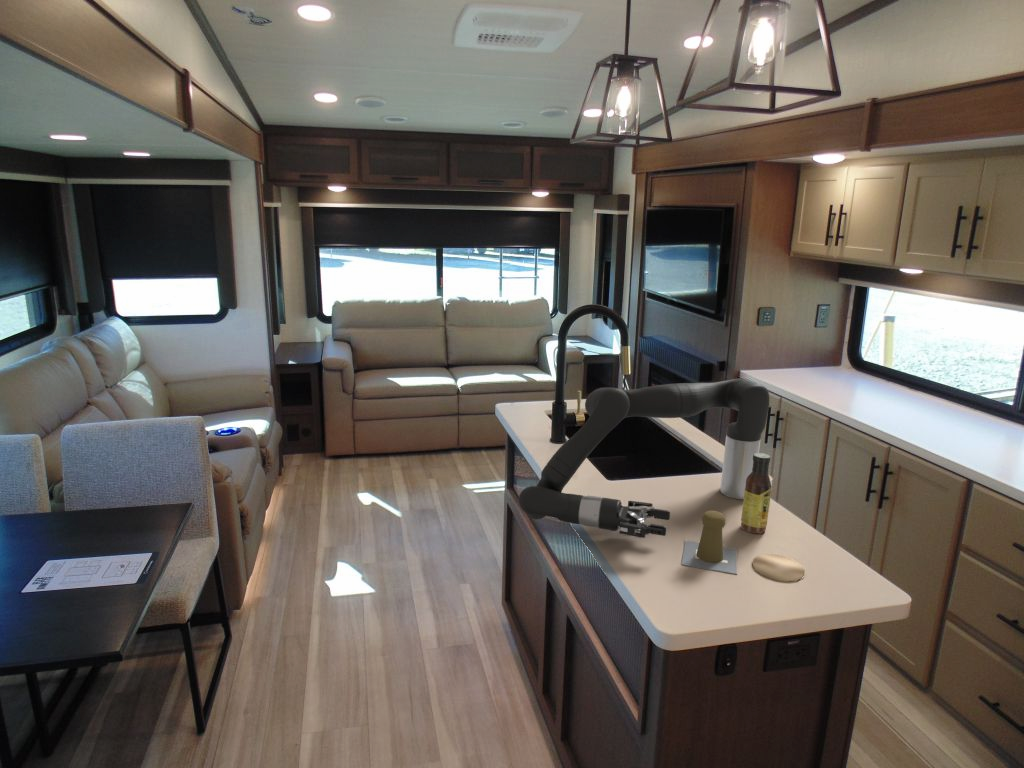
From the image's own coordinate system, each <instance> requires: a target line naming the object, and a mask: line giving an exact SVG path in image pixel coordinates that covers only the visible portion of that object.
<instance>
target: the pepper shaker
mask: <svg viewBox="0 0 1024 768" xmlns="http://www.w3.org/2000/svg"><path fill="white" fill-rule="evenodd" d="M701 522H702V524H703V527H702V531H701V534H700V537H699V538H700V539H699V542H698V543H699V546H698V550H697V557H698V558H699V559H701V560H703V561H705V562H709V563H718V562H721V561H722V560H723V547H724V541H723V538H724V537H723V528H724V527H725V525H726V517H725V515H724V514H723V513H721V512H719V511H716V510H707V511H705V512H704V513H703V514H702V517H701Z"/></svg>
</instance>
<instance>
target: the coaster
mask: <svg viewBox="0 0 1024 768" xmlns="http://www.w3.org/2000/svg"><path fill="white" fill-rule="evenodd" d="M752 559H753V560H752V567H753V569H754V570H755V572H757V573H758V572H759V573H758V574H760V575H761V576H763V577H765V576H766V578H768V579H769V580H770V579H771V580H773V581H779V582H785V581H786V582H787V583H788V582H789V581H793V582H797V581H796V580H798V581H800V580H802V579H803V578H804V577H805V568H804V566H803V565H801V563H799V562H797V560H795V559H792V558H790V557H787V556H784V555H779V554H773V553H769V554H768V553H765V554H759V555H757V556H755V557H754V558H752ZM803 576H804V577H803ZM802 577H803V578H802ZM801 578H802V579H801ZM799 579H800V580H799ZM786 582H785V583H786ZM789 583H790V582H789Z"/></svg>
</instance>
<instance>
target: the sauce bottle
mask: <svg viewBox="0 0 1024 768" xmlns="http://www.w3.org/2000/svg"><path fill="white" fill-rule="evenodd" d="M770 462H771V455H769V454H767V453H764V452H759V453H755V454H754V455H753V468H752V472H751V474H750V475H749V476H748V477H747V480H746V487H745V491H744V499H742V500H743V501H742V512H741V518H740V522H741V523H740V526H741V529H742V530H744V531H745V532H748V533H752V534H762V533H765V532H766V530H767V526H768V518H769V511H770V502H771V495H772V488H773V487H772V483H771V480H770V475H769V466H770Z"/></svg>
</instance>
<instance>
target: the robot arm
mask: <svg viewBox="0 0 1024 768" xmlns="http://www.w3.org/2000/svg"><path fill="white" fill-rule="evenodd" d="M584 407H585V408H584V410H585V411H586V413H587V414H588V416H589V417H588V418H587V420H586V422H585V423H584V424H583V426H581V427H580V428H579V429H578V430H577V432H575V433H574V434H573V435H572V436H571V437H569V438H568V440H567V441H565V442H564V443H563V444H562V445H561V446H560V447H559V448H558V449H557V450H556V451H555V452H554V454H553V455H552V456H551V458H550V459H549V460H548V462H547V463H546V464H545V466H544V467H543V468H542V471H541V474H540V475H541V476H540V480H539V481H538V483H537V484H536V485H531V486H527V487H525V488H524V489H522V491H520V493H519V496H518V505H519V507H520V509H521V510H522V511H523V512H524V513H525V514H526V516H528V517H529V518H531V519H533V520H541V519H543V518H545V517H550V518H555V519H557V520H559V521H561V522H563V523H565V522H566V523H570V524H576V525H582V526H585V527H588V528H593V529H599V530H600V529H601V530H605V531H606V530H607V531H612V532H617V531H618V530H619V531H618V532H619V535H623V536H630V537H636V538H641V539H645V538H646V536H649V534H650V535H656V536H661V537H662V536H663V537H665V536H666V534H667V526H666V525H662V524H655V523H648V522H647V521H646V520H647V519H652V518H653V519H658V520H664V521H665V520H666V521H669V520H670V517H671V511H670V510H666V509H660V508H655V506H653V503H652V502H643V501H636V500H628V502H627V506H623V505H622V500H620V499H616V498H610V497H604V496H603V497H601V496H596V495H580V494H575V493H565V492H562V491H563V489H564V488H565V486H566V485H567V484H569V482H570V480H571V479H572V478H573V477H574V476H575V473H576V472H578V470H579V468H580V467H581V466H582V464H583V463H584V461H585V460H586V459H587V458H588V456H589V455H590V454H591V453H592V452H593V450H595V448H596V447H597V446H598V445H599V444H600V442H602V441H603V439H605V438H606V436H607V435H608V434H609V433H611V431H612V430H614V429H615V428H616V427H617V426H618V425H619V424H620V423H621V422H622V421H623V420H624V419H625V418H630V417H640V418H641V417H642V418H653V419H654V418H655V419H679V418H688V417H689V418H690V417H693V416H696V415H699V414H700V413H703V412H704V411H706V410H709V409H720V408H721V409H722V408H725V409H732V410H735V411H737V412H738V413H737V419H736V422H731V423H729V424H728V425H727V426H726V433H725V434H726V435H725V444H724V453H723V462H722V473H721V480H720V481H721V482H720V493H721V494H722V495H724V497H728V498H731V499H737V500H744V491H745V487H746V480H747V477H748V476H749V475H750V474H751V472H752V468H753V455H754V454H755V453H760V449H761V448H760V447H761V441H762V440H761V439H762V435H763V432H764V430H765V428H766V425H767V420H768V413H769V408H770V392H769V390H768V388H767V387H766V386H764V385H763V384H761V383H758V382H756V381H753V380H752V379H751V380H750V379H749V378H744V377H743V378H733V379H727V380H722V381H716V382H682V383H680V382H679V383H666V384H665V383H664V384H659V385H653V386H647V387H646V386H645V387H641V388H631V389H620V388H618V387H617V388H616V387H599V388H596V389H595V390H593V391H591V392H590V393H589V394H588V396H587V397H586V399H585V402H584Z"/></svg>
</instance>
